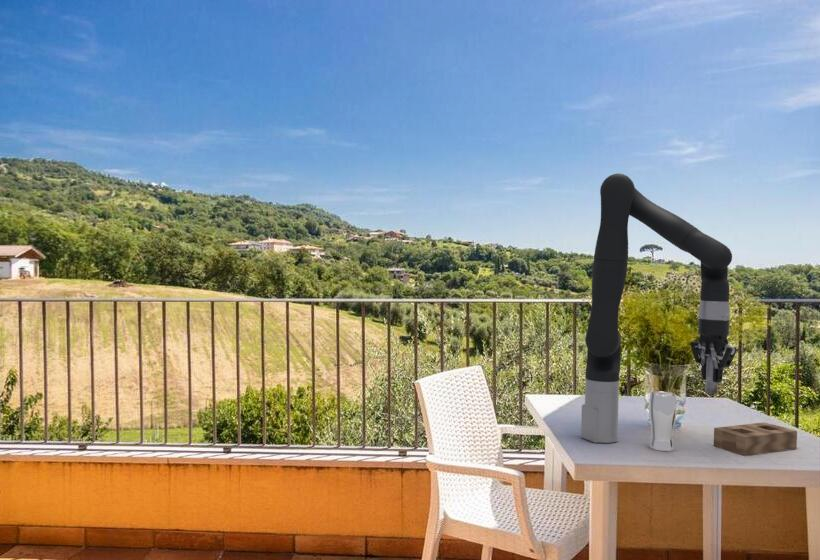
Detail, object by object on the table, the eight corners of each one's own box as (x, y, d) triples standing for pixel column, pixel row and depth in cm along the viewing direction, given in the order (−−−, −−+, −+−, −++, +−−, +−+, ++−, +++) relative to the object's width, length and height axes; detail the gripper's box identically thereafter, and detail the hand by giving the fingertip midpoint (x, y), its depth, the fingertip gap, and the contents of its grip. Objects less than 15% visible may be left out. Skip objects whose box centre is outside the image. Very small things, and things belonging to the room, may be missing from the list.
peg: (711, 393, 169) (713, 356, 169) (702, 391, 172) (703, 355, 171) (719, 393, 170) (721, 356, 170) (710, 391, 173) (711, 354, 172)
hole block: (745, 455, 166) (745, 437, 166) (713, 445, 176) (714, 427, 176) (796, 448, 174) (797, 430, 174) (763, 439, 183) (764, 422, 183)
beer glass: (652, 443, 177) (654, 390, 177) (678, 448, 173) (680, 393, 172) (644, 448, 172) (645, 393, 171) (670, 453, 167) (672, 397, 167)
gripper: (683, 315, 175) (680, 377, 176) (725, 320, 162) (723, 386, 163) (702, 315, 178) (700, 376, 179) (746, 319, 165) (744, 385, 166)
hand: (711, 380), depth 171 cm, fingers closed on peg, 3 cm apart
